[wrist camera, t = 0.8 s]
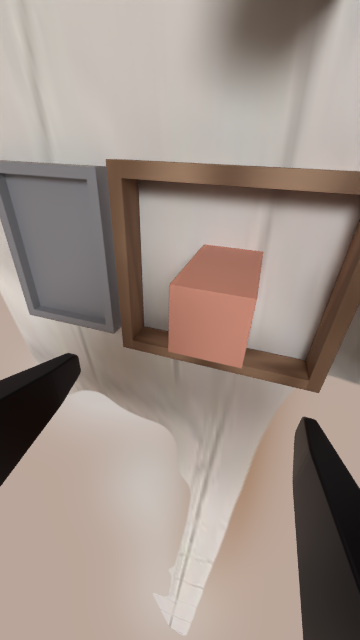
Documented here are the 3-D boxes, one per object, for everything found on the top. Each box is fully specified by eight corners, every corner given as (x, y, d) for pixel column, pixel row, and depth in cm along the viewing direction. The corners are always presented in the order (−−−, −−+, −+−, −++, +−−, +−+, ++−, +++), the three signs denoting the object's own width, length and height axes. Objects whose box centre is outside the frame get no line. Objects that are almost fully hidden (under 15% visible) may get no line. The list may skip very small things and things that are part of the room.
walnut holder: (398, 173, 15) (417, 175, 13) (314, 372, 23) (318, 393, 21) (124, 159, 19) (105, 159, 17) (135, 332, 27) (123, 346, 25)
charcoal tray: (106, 166, 19) (95, 166, 18) (121, 325, 27) (114, 333, 25) (-1, 160, 22) (-18, 160, 20) (40, 308, 29) (29, 314, 28)
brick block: (263, 251, 19) (256, 299, 12) (252, 305, 21) (241, 368, 15) (204, 244, 20) (169, 284, 13) (199, 296, 22) (168, 351, 16)
